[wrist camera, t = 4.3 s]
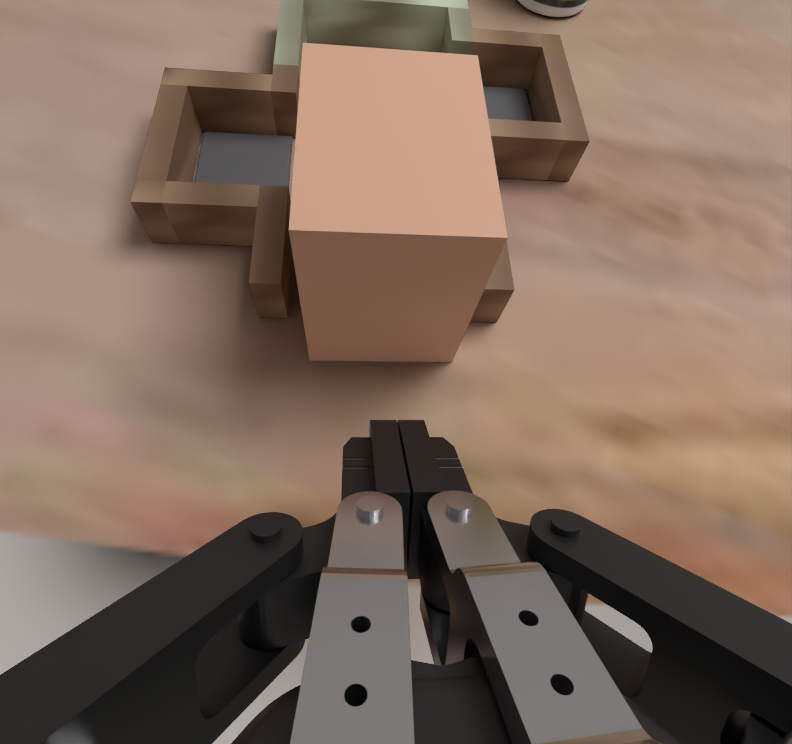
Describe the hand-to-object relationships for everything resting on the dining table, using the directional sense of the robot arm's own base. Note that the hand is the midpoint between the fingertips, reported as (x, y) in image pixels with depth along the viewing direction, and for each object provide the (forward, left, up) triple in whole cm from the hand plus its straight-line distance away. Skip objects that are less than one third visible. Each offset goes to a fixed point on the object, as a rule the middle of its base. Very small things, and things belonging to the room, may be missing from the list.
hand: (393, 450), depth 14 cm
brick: (0, +9, -5) cm, 11 cm away
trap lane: (0, +17, -5) cm, 18 cm away
